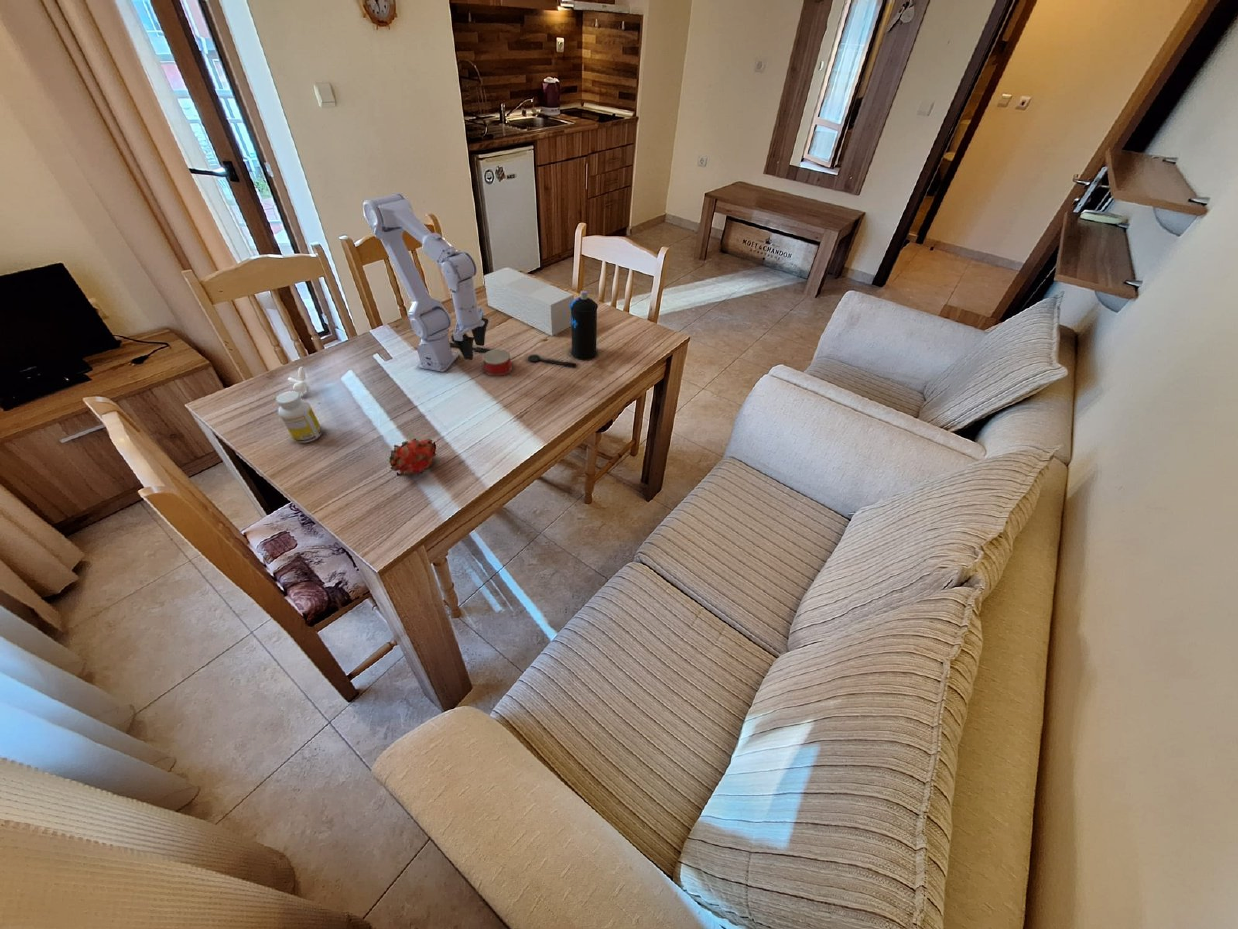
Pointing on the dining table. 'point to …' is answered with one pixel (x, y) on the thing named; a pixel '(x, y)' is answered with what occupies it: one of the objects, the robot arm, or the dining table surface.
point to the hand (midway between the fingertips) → (474, 351)
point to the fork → (473, 348)
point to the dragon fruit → (412, 456)
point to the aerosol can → (584, 327)
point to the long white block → (529, 300)
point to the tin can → (497, 362)
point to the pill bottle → (298, 417)
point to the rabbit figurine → (299, 382)
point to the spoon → (550, 361)
